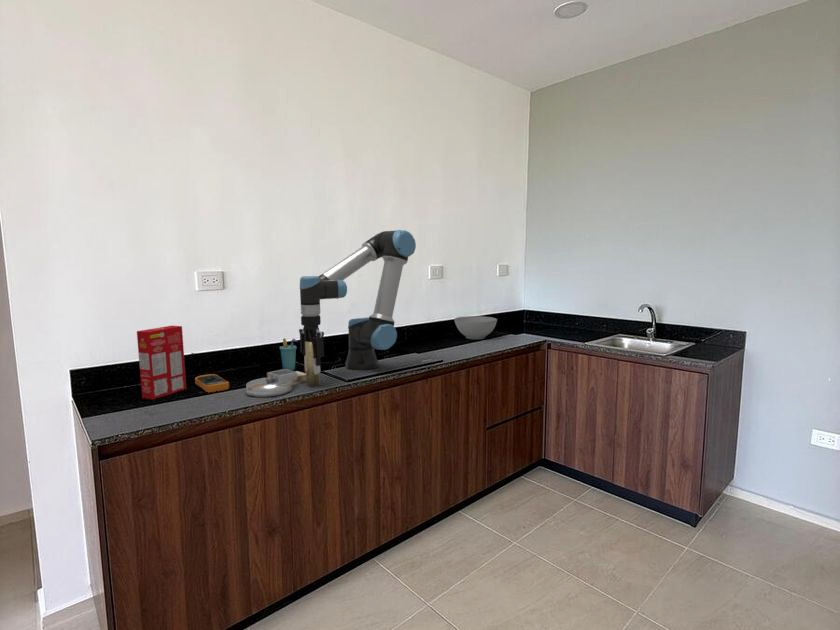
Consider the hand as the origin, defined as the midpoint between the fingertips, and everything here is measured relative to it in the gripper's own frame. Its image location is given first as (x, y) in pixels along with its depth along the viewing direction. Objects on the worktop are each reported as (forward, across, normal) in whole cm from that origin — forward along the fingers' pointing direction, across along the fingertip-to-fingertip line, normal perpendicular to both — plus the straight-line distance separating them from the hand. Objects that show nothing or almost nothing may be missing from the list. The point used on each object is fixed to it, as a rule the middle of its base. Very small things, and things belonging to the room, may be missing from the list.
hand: (312, 372), depth 185 cm
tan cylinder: (+5, 0, 0) cm, 5 cm away
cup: (+5, -29, +8) cm, 31 cm away
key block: (+5, -10, -2) cm, 11 cm away
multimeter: (+6, -29, -28) cm, 41 cm away
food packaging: (+5, -33, -44) cm, 55 cm away
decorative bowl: (+6, -12, +132) cm, 133 cm away
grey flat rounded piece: (+5, -6, -16) cm, 18 cm away
